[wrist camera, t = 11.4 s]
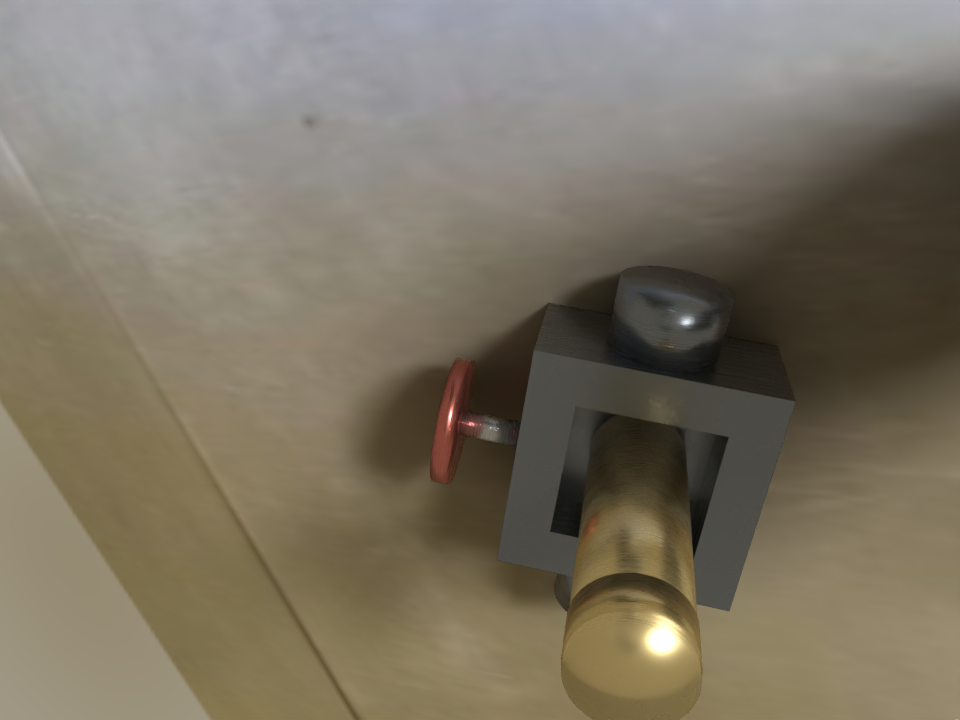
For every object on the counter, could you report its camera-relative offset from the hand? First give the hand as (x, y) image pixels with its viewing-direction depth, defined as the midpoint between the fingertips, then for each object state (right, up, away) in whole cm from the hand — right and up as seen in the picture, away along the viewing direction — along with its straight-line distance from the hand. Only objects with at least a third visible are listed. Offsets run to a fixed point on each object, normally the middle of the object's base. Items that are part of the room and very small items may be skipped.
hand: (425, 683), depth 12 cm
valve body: (+7, +1, +34) cm, 35 cm away
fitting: (+8, 0, +31) cm, 32 cm away
